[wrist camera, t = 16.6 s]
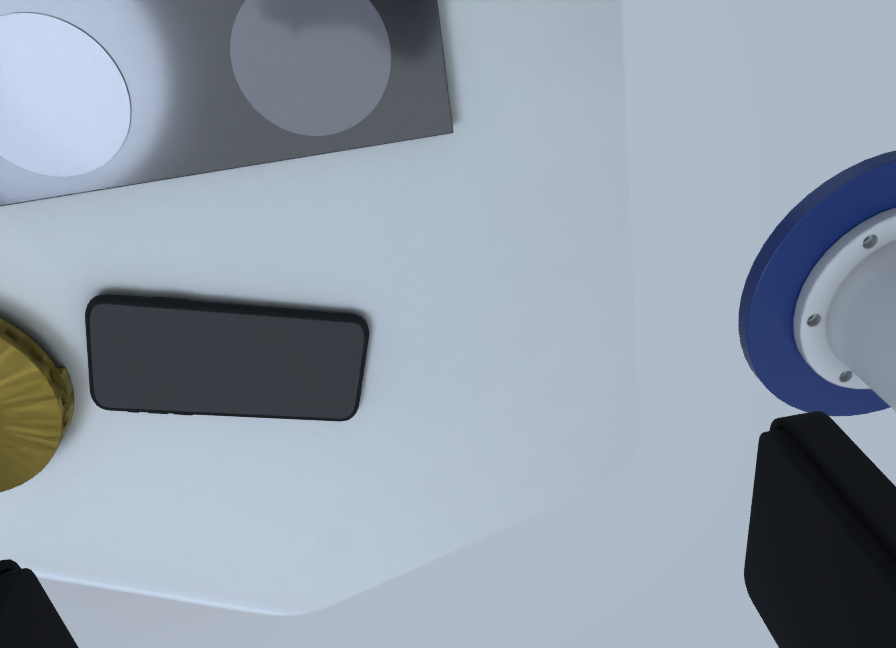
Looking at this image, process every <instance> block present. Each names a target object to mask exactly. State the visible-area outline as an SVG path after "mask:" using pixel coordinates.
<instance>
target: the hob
mask: <svg viewBox="0 0 896 648" xmlns="http://www.w3.org/2000/svg"><path fill="white" fill-rule="evenodd" d="M450 133H453V126H452V117H451V109H450V101H449V93H448V85H447V77H446V69H445V60H444V52H443V44H442V36H441V28H440V20H439V12H438V4H437V0H0V206H5V205H11V204H17V203H24V202H30V201H36V200H42V199H48V198H54V197H61V196H67V195H73V194H79V193H85V192H91V191H98V190H104V189H110V188H116V187H122V186H129V185H135V184H141V183H147V182H153V181H159V180H166V179H172V178H178V177H184V176H190V175H197V174H203V173H209V172H215V171H221V170H227V169H234V168H240V167H246V166H252V165H258V164H265V163H271V162H277V161H283V160H289V159H295V158H302V157H308V156H314V155H320V154H326V153H333V152H339V151H345V150H351V149H357V148H363V147H370V146H376V145H382V144H388V143H394V142H400V141H407V140H413V139H419V138H425V137H431V136H438V135H444V134H450Z"/></svg>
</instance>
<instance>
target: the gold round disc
mask: <svg viewBox="0 0 896 648" xmlns="http://www.w3.org/2000/svg"><path fill="white" fill-rule="evenodd" d="M73 408H74V394H73V387H72V383H71V380H70V377H69V374H68V372H67V369H66V367H63V368H58V369H57V367H56V365H55V364H54V362H53V361H52V360H51V359H50V357H49V356H48V355H47V353H46V352H45V351H44V350H43V349H42V348H41V347H40V346H39V345H38V344H37V343H36V342H35V341H34V340H32V339H31V338H30V337H29V336H27V335H26V334H25V333H24V332H22V331H21V330H19V329H18V328H16V327H15V326H13V325H12V324H10V323H8V322H6V321H4V320H3V319H1V318H0V492H3V491H6V490H9V489H12V488H14V487H17V486H19V485H21V484H23V483H25V482H26V481H28V480H30V479H31V478H33V477H34V476H35V475H37V474H38V473H39V472H40V471H41V470H42V469H43V468H44V467H45V466H46V465H47V464H48V463H49V461H50V460H51V458H52V457H53V455H54V454H55V452H56V450H57V448H58V446H59V444H60V442H61V440H62V438H63V436H64V434H65V431H66V429H67V427H68V425H69V423H70V421H71V418H72V414H73Z"/></svg>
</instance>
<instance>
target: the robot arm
mask: <svg viewBox="0 0 896 648" xmlns="http://www.w3.org/2000/svg"><path fill="white" fill-rule="evenodd" d="M793 326H794V338H795V341H796V345H797V348H798V351H799V352H800V354H801V356H802V357H803V359H804V361H805V362H806V363H807V364H808V365H809V366H810V367H811V368H812V369H813V370H814V371H815V372H816V373H817V374H818V375H820V376H821V377H823V378H824V379H825V380H827V381H829V382H831V383H833V384H835V385H838V386H841V387H847V388H853V389H872V390H873V391H874V392H875V393H876V394H877V395H878V396H880V397H881V398H882V399H883V400H884V401H885V402H886V403H887V404H888V405H889V406H890V407H892V409H894V410H895V411H896V208H893V209H890V210H887V211H884V212H881V213H879V214H877V215H875V216H873V217H871V218H869V219H868V220H866V221H864V222H862V223H860V224H859V225H857V226H856V227H855V228H853V229H852V230H850V231H849V232H848V233H846V234H845V235H843V236H842V237H841V238H840V239H839V240H838V241H837V242H836V243H835V244H834V245H833V246H832V247H830V248H829V249H828V250H827V251H826V252H825V254H824V255H823V256H822V257H821V259H820V260H819V261H818V262H817V264H816V265H815V266H814V267H813V269H812V271H811V272H810V274H809V276H808V278H807V279H806V281H805V283H804V284H803V287H802V289H801V292H800V295H799V297H798V300H797V302H796V307H795V313H794V318H793ZM744 579H745V584H746V588H747V591H748V594H749V596H750V598H751V600H752V602H753V604H754V606H755V607H756V609H757V611H758V612H759V614H760V616H761V618H762V619H763V621H764V623H765V624H766V626H767V628H768V630H769V631H770V633H771V635H772V636H773V638H774V640H775V642H776V643H777V645H778V646H779V648H896V487H895V486H894V484H893V483H892V482H891V481H890V480H889V479H888V478H887V477H886V476H885V475H884V474H883V473H882V472H881V471H880V470H879V469H878V468H877V466H876V465H875V464H874V463H873V462H872V461H871V460H870V459H869V458H868V457H867V456H866V455H865V454H864V453H863V452H862V451H861V450H860V449H859V447H858V446H857V445H856V444H855V443H854V442H853V441H852V440H851V439H850V438H849V437H848V436H847V435H846V434H845V432H844V431H843V430H842V429H841V428H840V427H839V426H838V425H837V424H836V423H835V422H834V421H833V420H832V419H831V418H830V417H829V416H828V415H827V414H825V413H824V412H821V411H814V412H809V413H804V414H798V415H792V416H788V417H782V418H777V419H774V421H773V422H772V423H771V427H770V431H768V432H764V433H762V434H761V435H760V438H759V444H758V453H757V462H756V470H755V479H754V488H753V497H752V505H751V514H750V523H749V533H748V541H747V550H746V558H745V568H744ZM0 648H78V646H77V644H76V643H75V641H74V639H73V638H72V636H71V634H70V633H69V631H68V629H67V628H66V626H65V624H64V622H63V621H62V619H61V617H60V616H59V614H58V612H57V611H56V609H55V607H54V606H53V604H52V602H51V601H50V599H49V597H48V596H47V594H46V592H45V591H44V589H43V587H42V586H41V584H40V582H39V581H38V579H37V577H36V575H35V574H34V573H33V572H32V570H30V569H28V568H24V569H21V568H20V566H19V565H18V564H17V563H16V562H15V561H12V560H10V559H9V560H1V561H0Z"/></svg>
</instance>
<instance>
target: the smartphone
mask: <svg viewBox="0 0 896 648" xmlns="http://www.w3.org/2000/svg"><path fill="white" fill-rule="evenodd" d="M85 323H86V338H87V353H88V368H89V384H90V394H91V397H92V399H93V401H94V402H95V404H96V405H97V406H99V407H100V408H102V409H105V410H111V411H128V412H136V413H139V412H148V413H157V414H168V413H173V414H178V415H193V414H194V415H215V416H236V417H258V418H279V419H300V420H322V421H346V420H349V419H350V418H352V417H353V416H354V415H355V414H356V412H357V410H358V407H359V402H360V395H361V388H362V381H363V374H364V367H365V360H366V353H367V346H368V339H369V329H368V325H367V323H366V321H365V320H364V319H363V318H362V317H360V316H358V315H355V314H346V313H333V312H321V311H308V310H296V309H283V308H271V307H258V306H245V305H233V304H220V303H208V302H195V301H188V300H185V299H172V298H159V297H154V298H144V297H131V296H119V295H99V296H95V297H94V298H93V299H91V300H90V302H89V303H88V305H87V308H86V312H85Z"/></svg>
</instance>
